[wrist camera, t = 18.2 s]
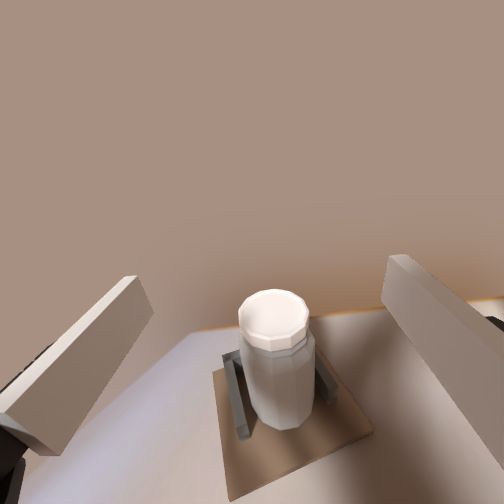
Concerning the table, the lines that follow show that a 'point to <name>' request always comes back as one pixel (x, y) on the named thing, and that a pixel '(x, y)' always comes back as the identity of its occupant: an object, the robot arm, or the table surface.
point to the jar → (278, 357)
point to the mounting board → (281, 441)
